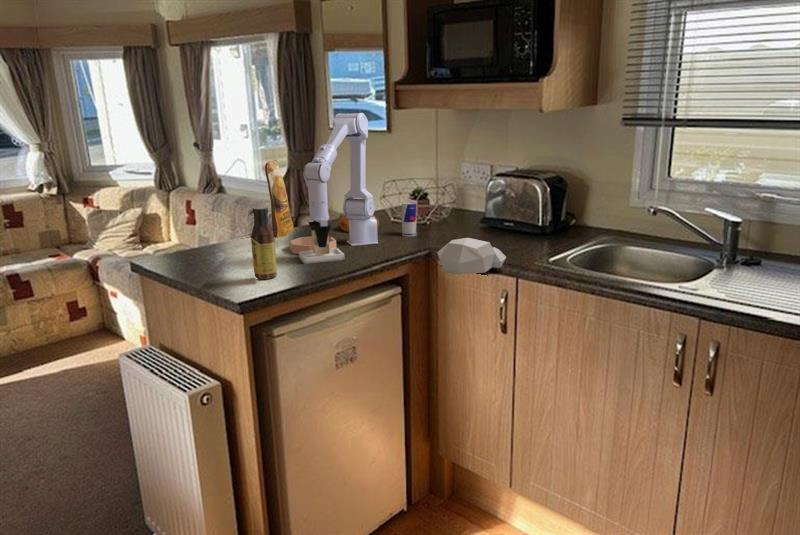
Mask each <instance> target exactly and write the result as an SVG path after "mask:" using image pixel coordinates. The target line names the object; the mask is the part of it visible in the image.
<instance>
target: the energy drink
mask: <svg viewBox="0 0 800 535" xmlns="http://www.w3.org/2000/svg"><path fill="white" fill-rule="evenodd" d="M416 203H417V202H413V201H405V202H402V203H401V232H402V233H401V236H403V237H406V238H407V237H409V238H410V237H411V236H412V237H416V236H418V235H417V234H418V228H417V227H418V223H417V221H418V220H417V218H418V217H417V204H416Z"/></svg>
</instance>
